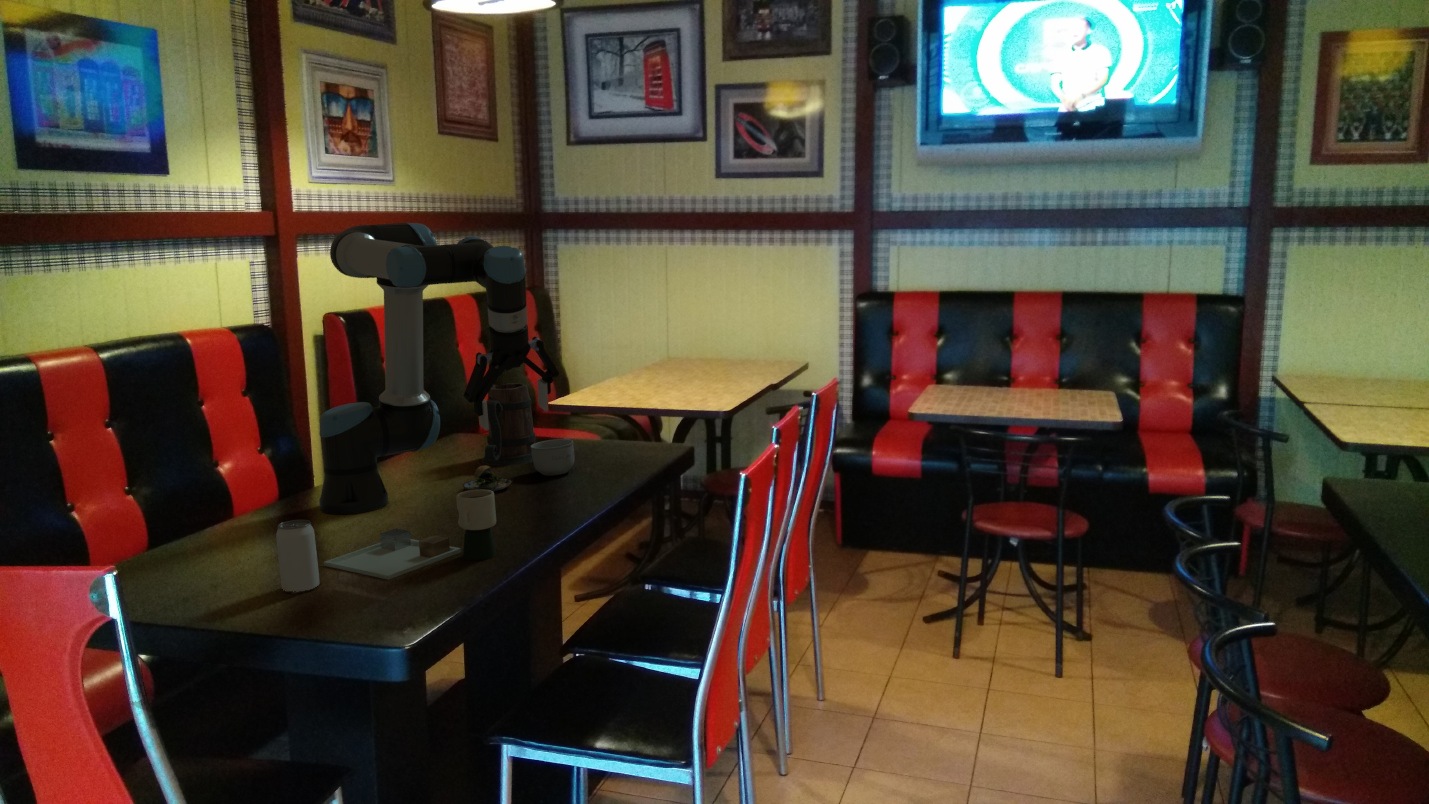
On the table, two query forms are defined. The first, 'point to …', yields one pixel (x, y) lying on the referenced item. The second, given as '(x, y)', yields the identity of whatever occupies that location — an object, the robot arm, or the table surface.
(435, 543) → the walnut block
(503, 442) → the tankard
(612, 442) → the table surface
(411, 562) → the tray
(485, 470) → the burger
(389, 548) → the grey metal block
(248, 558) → the table surface
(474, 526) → the character mug
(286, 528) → the can
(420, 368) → the robot arm
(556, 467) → the teacup
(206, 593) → the table surface
